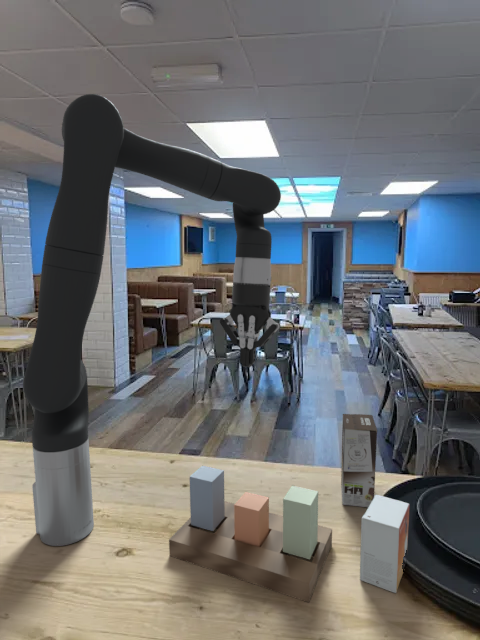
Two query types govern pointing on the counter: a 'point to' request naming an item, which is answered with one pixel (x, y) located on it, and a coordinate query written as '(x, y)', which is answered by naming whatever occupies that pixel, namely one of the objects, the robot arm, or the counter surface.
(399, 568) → the small box
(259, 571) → the walnut board
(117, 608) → the counter surface
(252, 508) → the terracotta block
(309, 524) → the sage block
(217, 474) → the slate block
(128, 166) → the robot arm
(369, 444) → the coffee box
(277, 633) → the counter surface
